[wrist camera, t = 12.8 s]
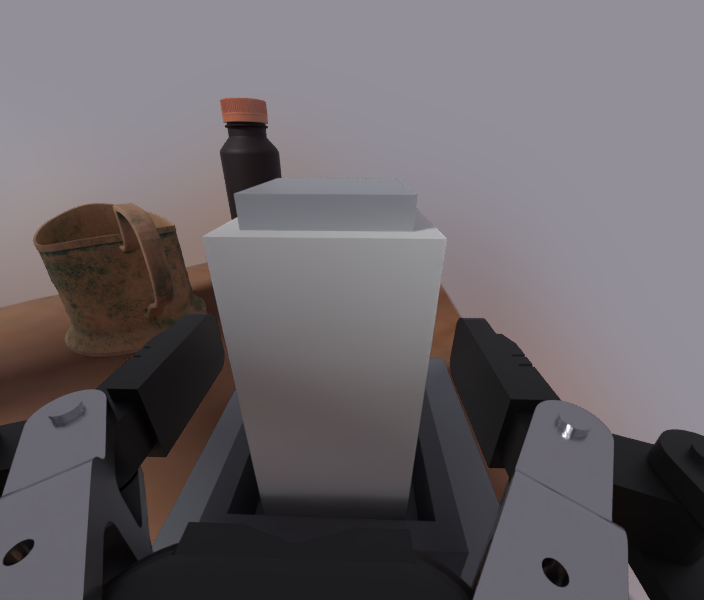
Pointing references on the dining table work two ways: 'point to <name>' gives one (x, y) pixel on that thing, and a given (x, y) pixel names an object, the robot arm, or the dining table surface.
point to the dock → (421, 518)
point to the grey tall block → (329, 338)
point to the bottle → (247, 147)
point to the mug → (116, 276)
